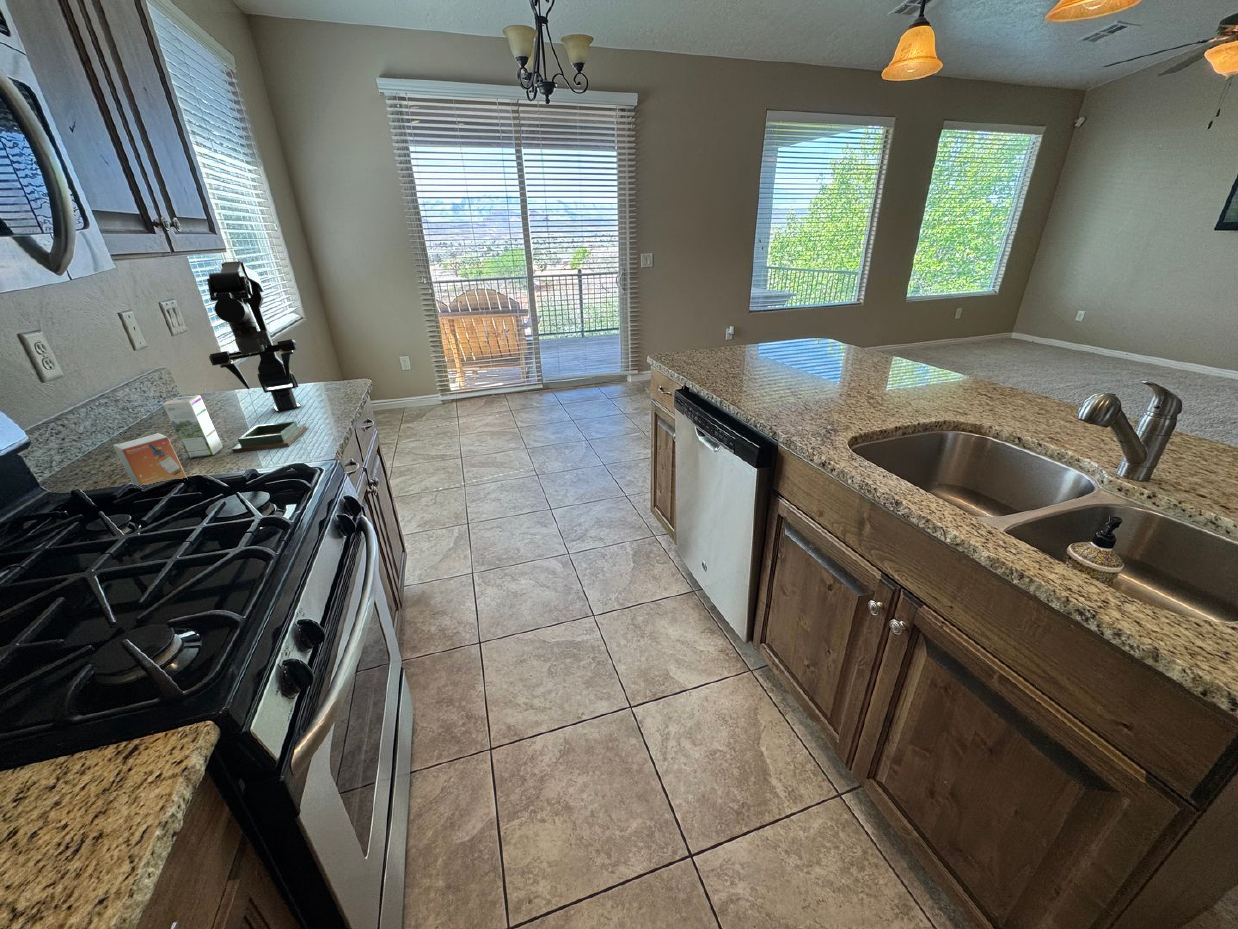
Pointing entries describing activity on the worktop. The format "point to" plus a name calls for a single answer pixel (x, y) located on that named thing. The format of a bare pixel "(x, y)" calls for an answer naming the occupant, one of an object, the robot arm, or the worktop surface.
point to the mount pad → (269, 436)
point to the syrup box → (193, 426)
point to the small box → (150, 460)
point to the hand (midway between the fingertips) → (269, 384)
